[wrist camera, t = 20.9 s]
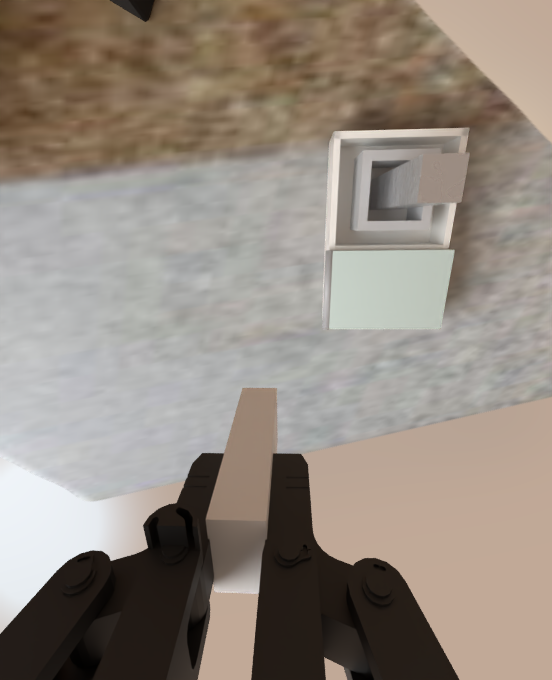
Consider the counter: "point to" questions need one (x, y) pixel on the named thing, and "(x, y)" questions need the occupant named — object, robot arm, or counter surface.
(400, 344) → the counter surface
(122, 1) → the electronic device
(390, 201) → the rectangular gray bar
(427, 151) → the housing
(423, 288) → the lid
